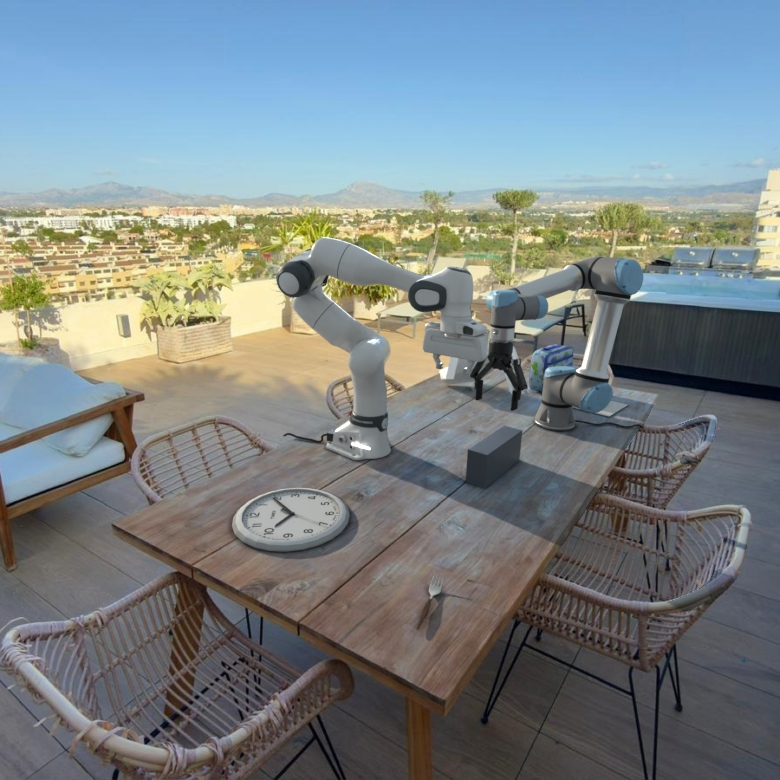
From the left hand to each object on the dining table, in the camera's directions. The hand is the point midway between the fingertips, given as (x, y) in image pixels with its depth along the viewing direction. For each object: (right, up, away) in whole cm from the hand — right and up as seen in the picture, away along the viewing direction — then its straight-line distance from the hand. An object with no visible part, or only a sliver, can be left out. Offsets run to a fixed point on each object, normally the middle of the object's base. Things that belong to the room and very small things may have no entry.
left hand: (452, 371), depth 154 cm
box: (+14, -31, +11) cm, 36 cm away
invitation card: (+73, -13, +72) cm, 103 cm away
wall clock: (-44, -39, -18) cm, 62 cm away
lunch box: (+58, -5, +96) cm, 112 cm away
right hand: (+16, -10, +16) cm, 25 cm away
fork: (-11, -49, -49) cm, 70 cm away
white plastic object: (+23, -7, +89) cm, 92 cm away
